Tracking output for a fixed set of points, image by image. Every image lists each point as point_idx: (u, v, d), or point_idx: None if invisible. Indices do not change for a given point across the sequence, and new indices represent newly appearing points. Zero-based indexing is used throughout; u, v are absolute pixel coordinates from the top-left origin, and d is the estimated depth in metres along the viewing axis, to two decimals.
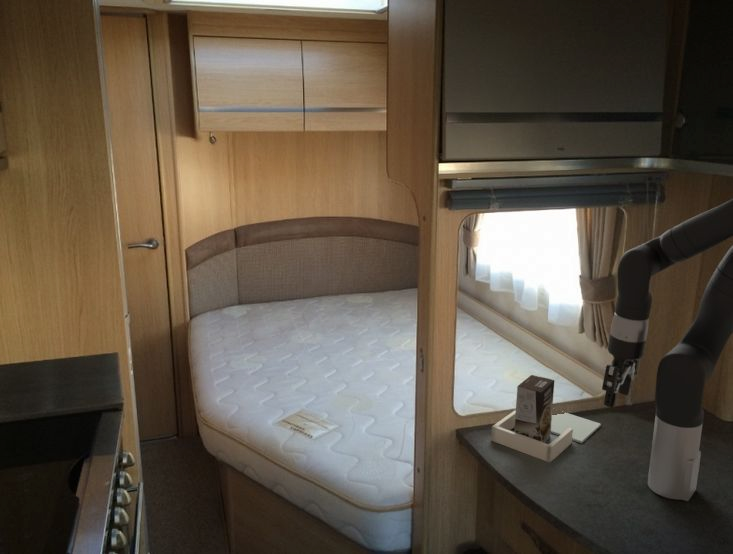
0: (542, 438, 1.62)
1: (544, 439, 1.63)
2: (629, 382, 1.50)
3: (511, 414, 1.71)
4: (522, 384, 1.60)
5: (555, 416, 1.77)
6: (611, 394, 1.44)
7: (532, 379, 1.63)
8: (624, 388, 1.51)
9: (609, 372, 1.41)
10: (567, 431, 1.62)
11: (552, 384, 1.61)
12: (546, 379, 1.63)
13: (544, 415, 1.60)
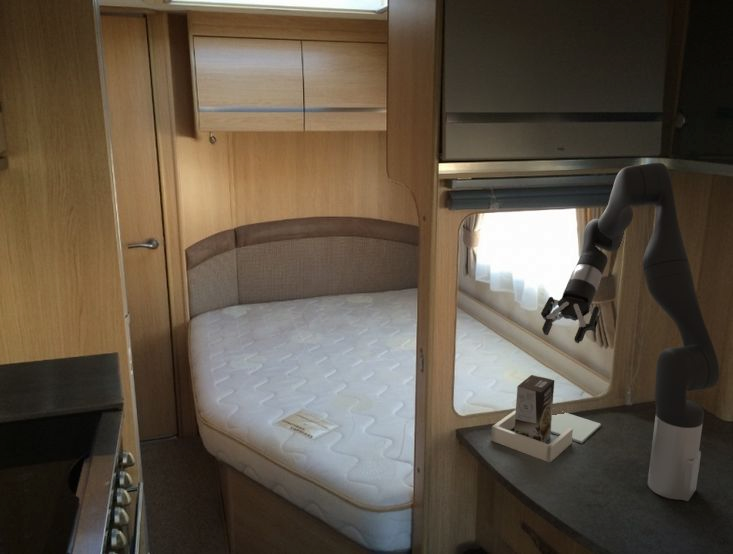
0: (542, 438, 1.62)
1: (544, 439, 1.63)
2: (579, 328, 1.66)
3: (511, 414, 1.71)
4: (522, 384, 1.60)
5: (555, 416, 1.77)
6: None
7: (532, 379, 1.63)
8: None
9: None
10: (567, 431, 1.62)
11: (552, 384, 1.61)
12: (546, 379, 1.63)
13: (544, 415, 1.60)
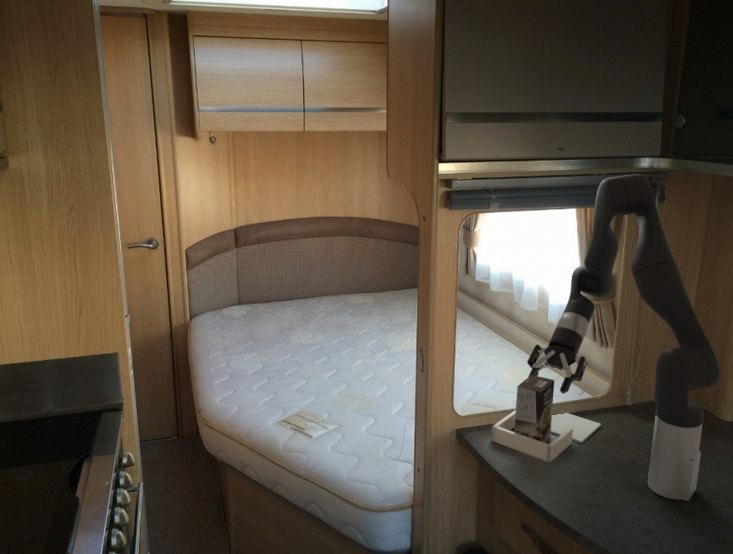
0: (542, 438, 1.62)
1: (544, 439, 1.63)
2: None
3: (511, 414, 1.71)
4: (522, 384, 1.60)
5: (555, 416, 1.77)
6: None
7: (532, 379, 1.63)
8: None
9: None
10: (567, 431, 1.62)
11: (552, 384, 1.61)
12: (546, 379, 1.63)
13: (544, 415, 1.60)
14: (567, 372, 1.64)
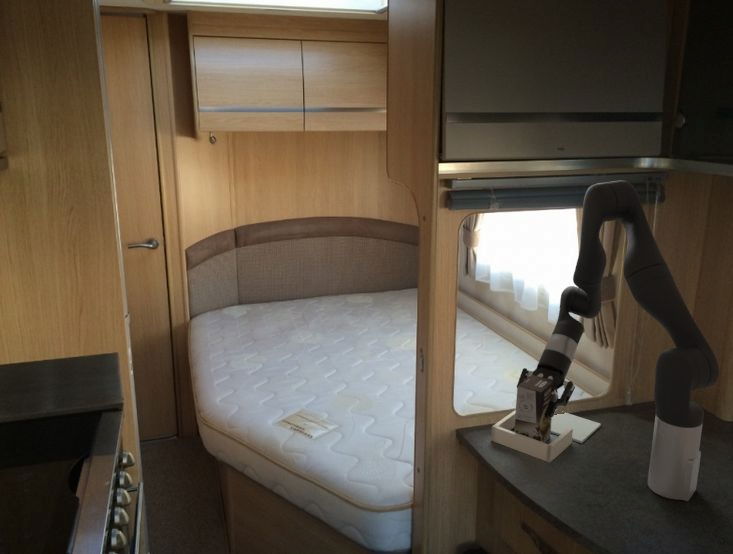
0: (542, 438, 1.62)
1: (544, 439, 1.63)
2: (550, 403, 1.61)
3: (511, 414, 1.71)
4: (522, 384, 1.60)
5: (555, 416, 1.77)
6: None
7: (532, 379, 1.63)
8: None
9: None
10: (567, 431, 1.62)
11: (552, 383, 1.61)
12: (546, 379, 1.63)
13: (544, 415, 1.60)
14: (553, 396, 1.62)
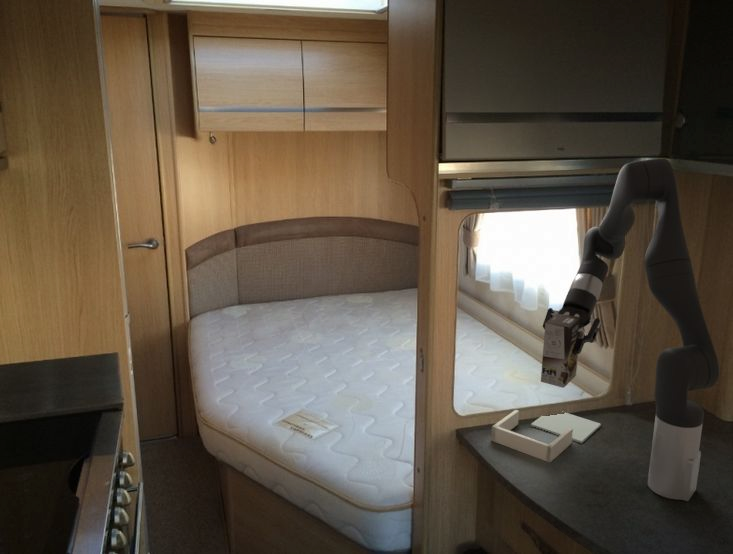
0: (569, 375, 1.63)
1: (571, 376, 1.65)
2: (577, 340, 1.63)
3: (511, 414, 1.71)
4: (549, 321, 1.61)
5: (555, 416, 1.77)
6: None
7: (559, 317, 1.64)
8: None
9: None
10: (567, 431, 1.62)
11: (579, 320, 1.63)
12: (573, 317, 1.64)
13: (571, 351, 1.61)
14: (580, 333, 1.63)
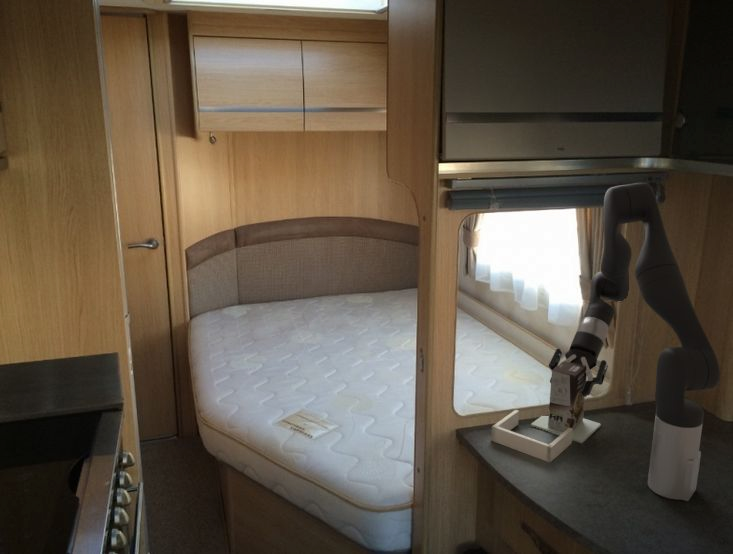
0: (575, 421, 1.69)
1: (577, 421, 1.70)
2: (586, 382, 1.68)
3: (511, 414, 1.71)
4: (556, 369, 1.68)
5: None
6: None
7: (566, 364, 1.71)
8: None
9: None
10: (567, 431, 1.62)
11: (585, 368, 1.69)
12: (579, 365, 1.70)
13: (577, 398, 1.67)
14: (588, 376, 1.68)
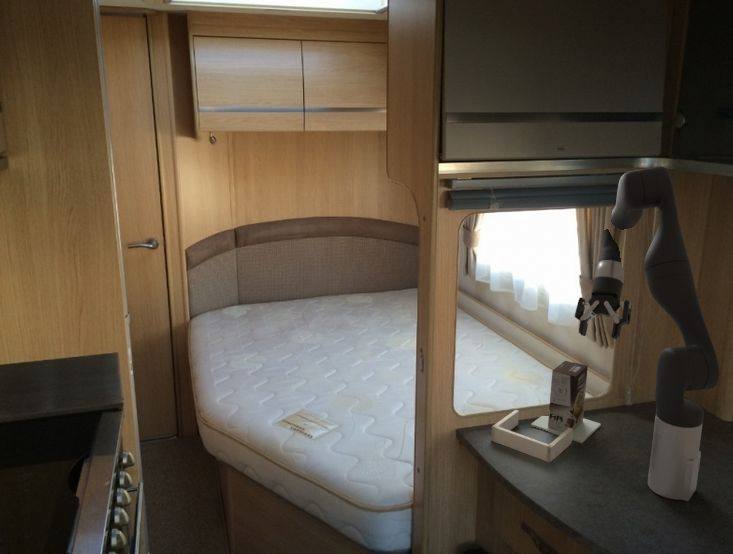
0: (575, 421, 1.69)
1: (577, 422, 1.70)
2: (613, 325, 1.71)
3: (511, 414, 1.71)
4: (556, 369, 1.68)
5: None
6: None
7: (566, 364, 1.70)
8: None
9: None
10: (567, 431, 1.62)
11: (585, 369, 1.69)
12: (580, 365, 1.70)
13: (577, 399, 1.67)
14: (615, 318, 1.71)
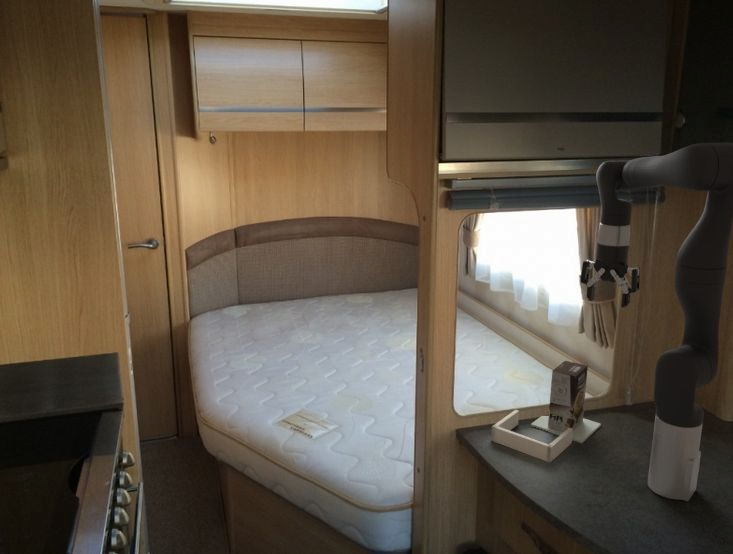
0: (575, 421, 1.69)
1: (577, 422, 1.70)
2: (622, 294, 1.63)
3: (511, 414, 1.71)
4: (556, 369, 1.68)
5: None
6: None
7: (566, 364, 1.70)
8: None
9: None
10: (567, 431, 1.62)
11: (585, 369, 1.69)
12: (580, 365, 1.70)
13: (577, 399, 1.67)
14: (623, 288, 1.62)
